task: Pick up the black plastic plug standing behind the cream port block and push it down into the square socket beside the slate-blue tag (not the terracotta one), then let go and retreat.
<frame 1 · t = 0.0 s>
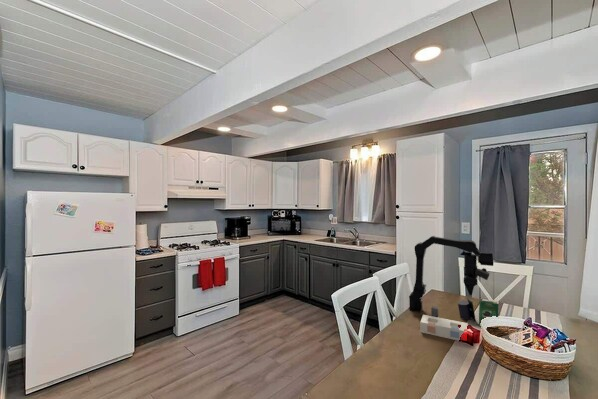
hand: (470, 292, 152), 15 cm above the table, fingers open, 9 cm apart
speaker: (466, 318, 153), on the table
port block: (443, 332, 138), on the table
coffee box: (488, 327, 143), on the table
plug: (434, 322, 149), on the table
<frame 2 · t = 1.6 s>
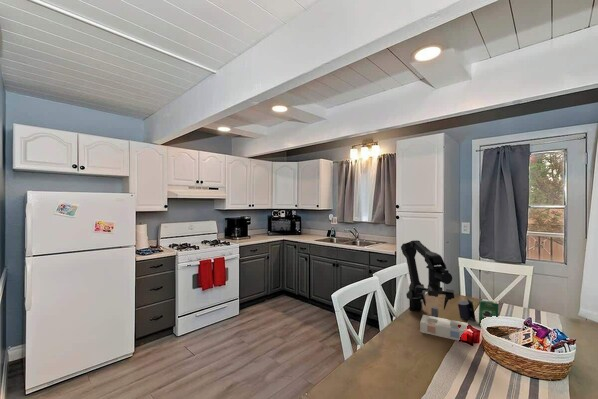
hand: (434, 307, 149), 8 cm above the table, fingers open, 9 cm apart
nothing on the table moved.
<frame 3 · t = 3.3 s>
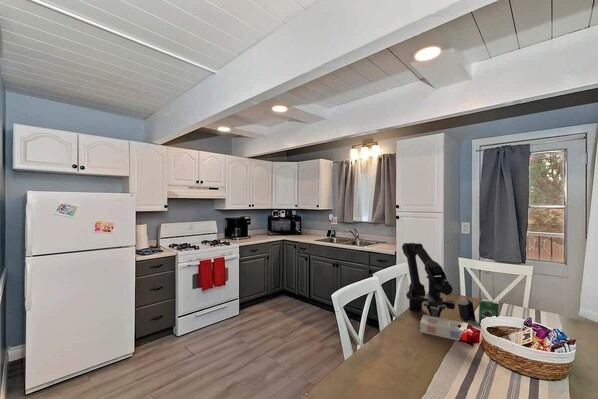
hand: (434, 317, 149), 3 cm above the table, fingers closed on plug, 3 cm apart
plug: (434, 322, 149), on the table, touching gripper
everything else where it was.
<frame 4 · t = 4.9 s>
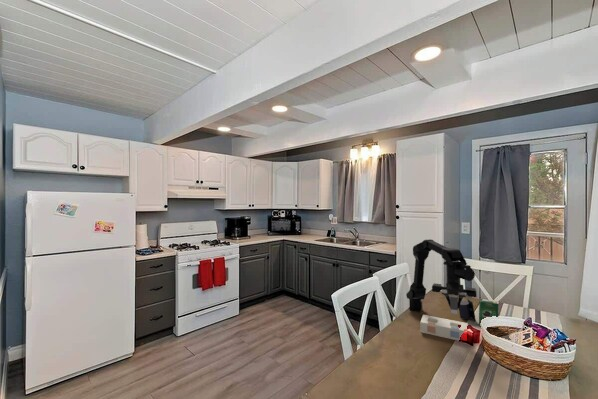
hand: (454, 307, 135), 13 cm above the table, fingers closed on plug, 3 cm apart
plug: (454, 312, 135), point 11 cm above the table, touching gripper
everything else where it was.
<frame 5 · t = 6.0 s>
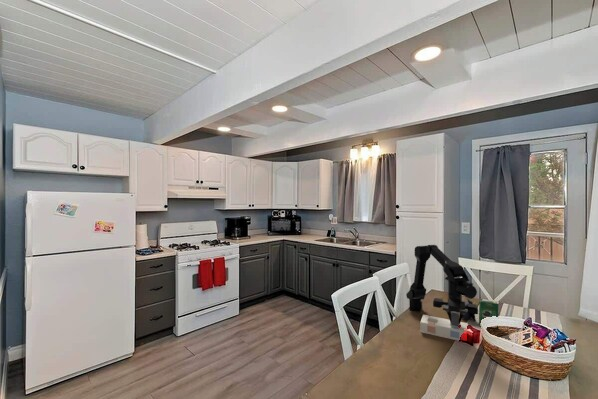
hand: (455, 323, 135), 6 cm above the table, fingers closed on plug, 3 cm apart
plug: (455, 328, 135), point 3 cm above the table, touching gripper
everything else where it was.
when the fingers open (5 cm above the table, at t = 6.9 s): plug drops 3 cm, resting in port block.
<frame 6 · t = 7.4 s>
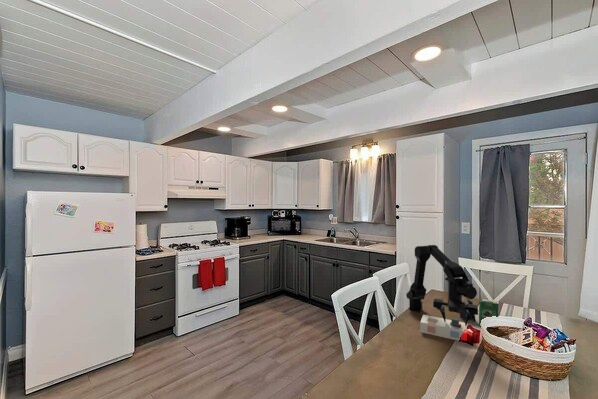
hand: (455, 323, 135), 5 cm above the table, fingers open, 8 cm apart
plug: (455, 335, 135), resting in port block
everything else where it was.
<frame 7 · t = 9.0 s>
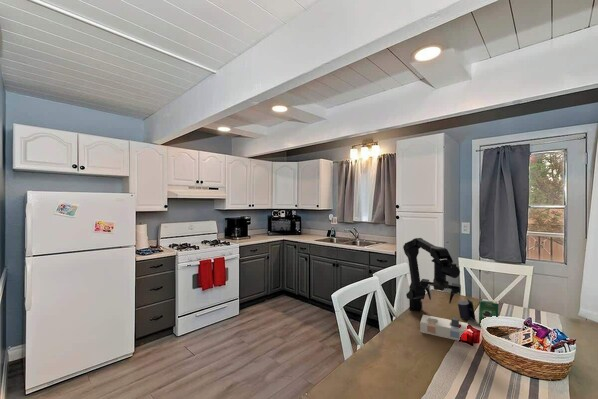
hand: (439, 301, 147), 12 cm above the table, fingers open, 9 cm apart
nothing on the table moved.
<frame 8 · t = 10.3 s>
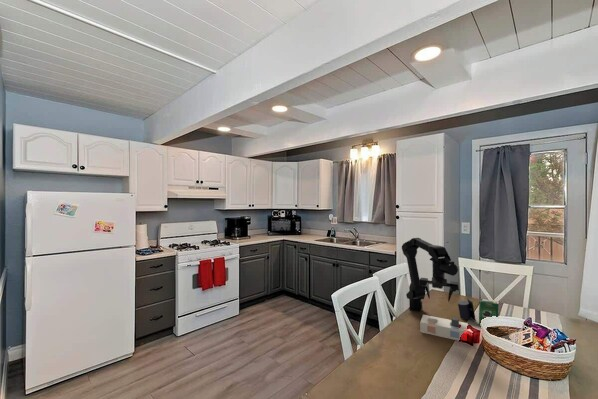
hand: (438, 299, 148), 13 cm above the table, fingers open, 9 cm apart
nothing on the table moved.
at the end: plug 0.0 cm from the target spot on the port block, point 0.0 cm above the port block's base; the gripper is holding nothing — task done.
